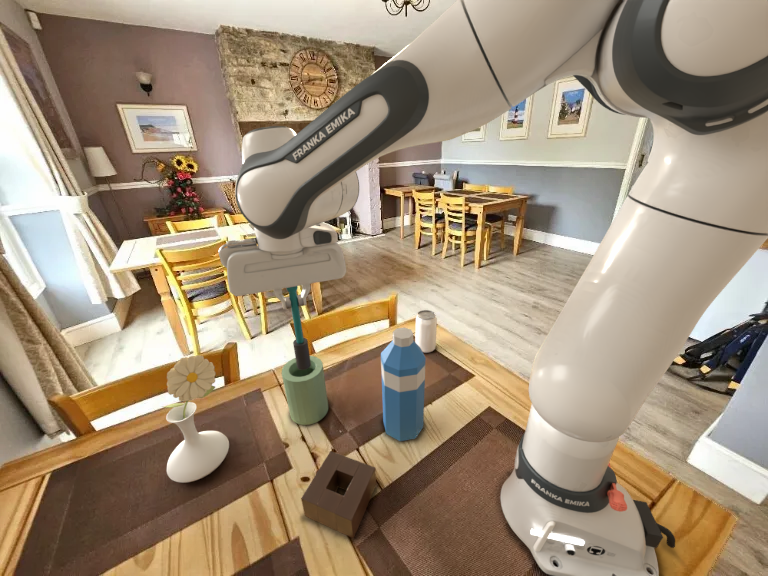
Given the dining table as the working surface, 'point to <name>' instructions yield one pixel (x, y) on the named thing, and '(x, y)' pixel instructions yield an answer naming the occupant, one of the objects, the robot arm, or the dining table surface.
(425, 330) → the can
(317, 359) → the jar
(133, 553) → the dining table surface
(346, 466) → the brush holder
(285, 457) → the dining table surface
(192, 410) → the flower in vase
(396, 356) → the water bottle
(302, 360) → the bottle brush
